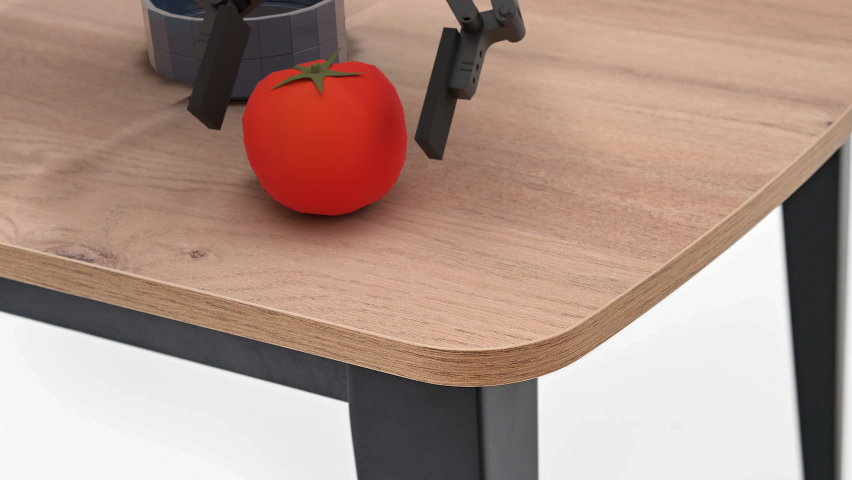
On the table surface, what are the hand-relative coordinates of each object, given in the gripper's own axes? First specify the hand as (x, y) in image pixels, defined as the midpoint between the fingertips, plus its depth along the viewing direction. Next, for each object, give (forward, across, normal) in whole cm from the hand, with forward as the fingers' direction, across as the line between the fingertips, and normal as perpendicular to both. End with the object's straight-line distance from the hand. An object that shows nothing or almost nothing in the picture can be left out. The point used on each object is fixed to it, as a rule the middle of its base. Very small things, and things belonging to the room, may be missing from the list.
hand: (312, 135), depth 66 cm
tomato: (+2, 0, -5) cm, 6 cm away
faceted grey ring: (-11, +16, -18) cm, 26 cm away
